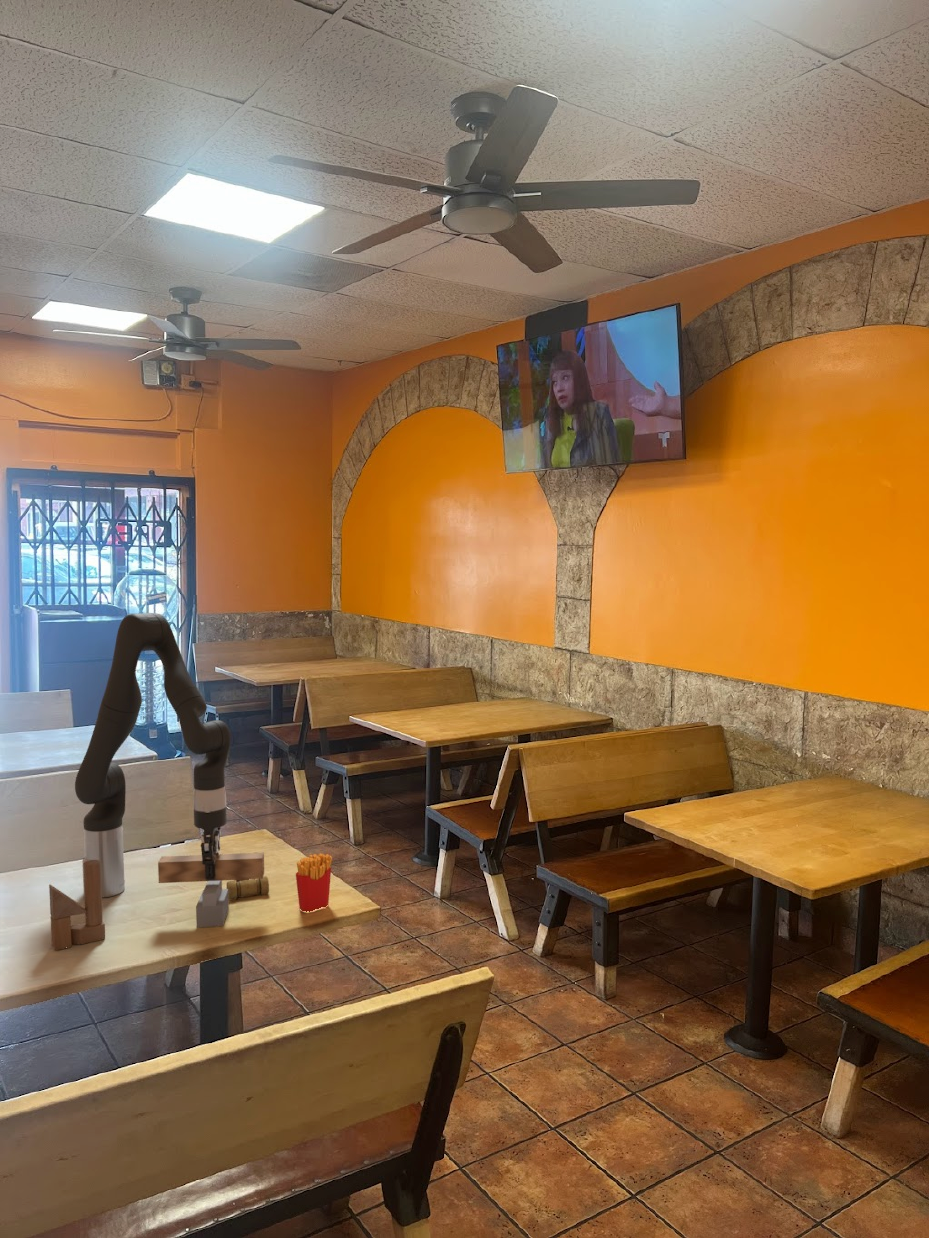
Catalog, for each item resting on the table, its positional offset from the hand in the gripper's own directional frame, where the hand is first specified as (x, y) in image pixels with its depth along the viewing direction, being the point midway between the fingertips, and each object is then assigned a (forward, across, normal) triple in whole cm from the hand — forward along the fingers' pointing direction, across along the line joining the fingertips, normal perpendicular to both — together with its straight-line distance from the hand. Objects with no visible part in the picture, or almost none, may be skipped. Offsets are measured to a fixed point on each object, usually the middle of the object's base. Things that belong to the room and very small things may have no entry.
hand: (211, 875), depth 218 cm
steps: (+11, 0, 0) cm, 11 cm away
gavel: (+11, -21, +4) cm, 24 cm away
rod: (+1, 0, 0) cm, 1 cm away
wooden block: (+11, +10, -28) cm, 32 cm away
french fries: (+11, -3, +24) cm, 26 cm away
